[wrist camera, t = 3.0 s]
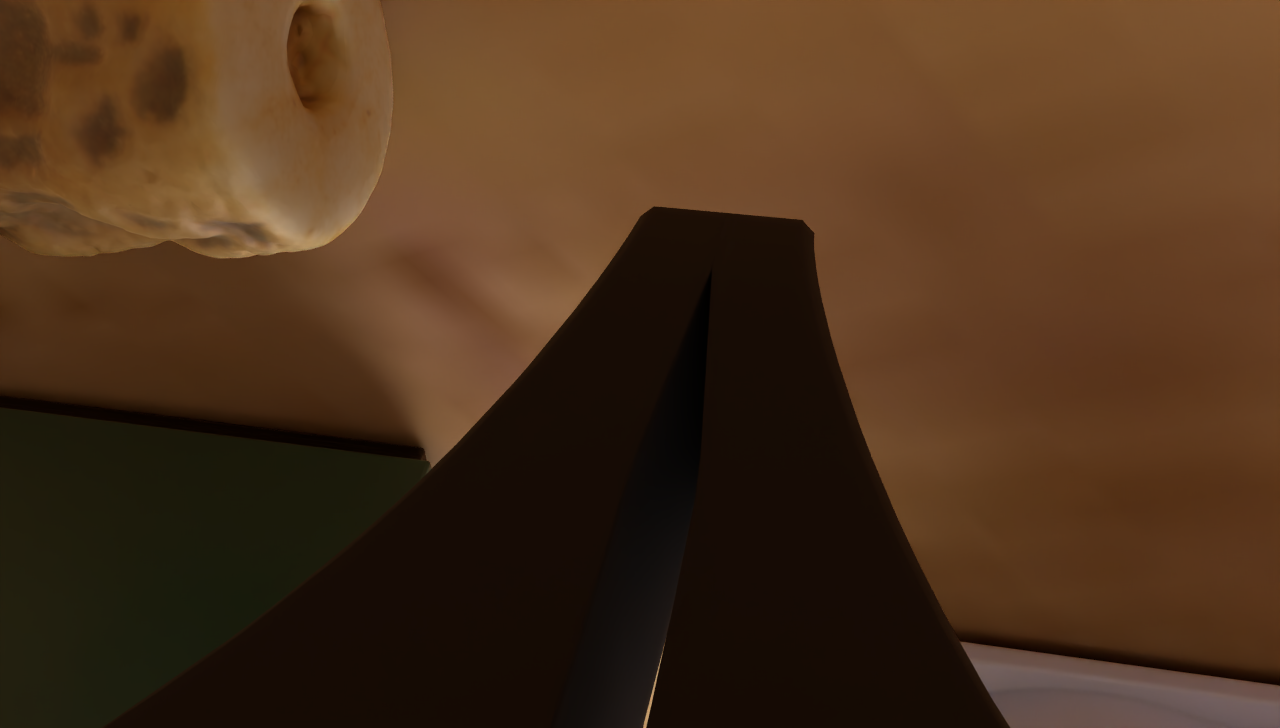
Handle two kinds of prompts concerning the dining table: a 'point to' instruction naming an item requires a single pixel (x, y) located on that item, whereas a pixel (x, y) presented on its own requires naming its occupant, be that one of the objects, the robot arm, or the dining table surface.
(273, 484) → the toaster
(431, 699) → the robot arm
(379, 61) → the tan cylinder with hole
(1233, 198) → the dining table surface
